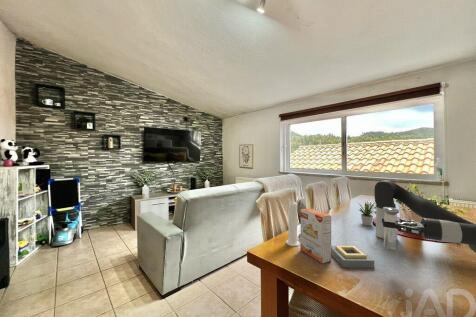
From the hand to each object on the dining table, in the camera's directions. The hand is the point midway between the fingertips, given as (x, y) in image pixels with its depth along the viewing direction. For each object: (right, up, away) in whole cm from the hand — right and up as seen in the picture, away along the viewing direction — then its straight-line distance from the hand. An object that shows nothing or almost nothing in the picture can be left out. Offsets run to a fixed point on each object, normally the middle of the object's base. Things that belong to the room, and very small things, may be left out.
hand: (382, 222), depth 81 cm
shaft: (+2, -10, -1) cm, 10 cm away
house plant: (+31, -20, +54) cm, 65 cm away
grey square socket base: (-9, -20, +8) cm, 23 cm away
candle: (-31, -20, +24) cm, 44 cm away
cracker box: (-24, -20, +11) cm, 33 cm away
